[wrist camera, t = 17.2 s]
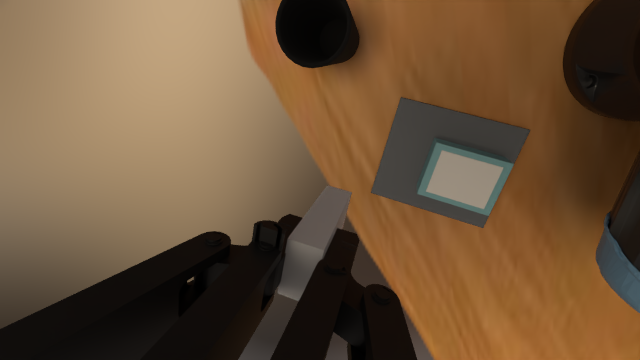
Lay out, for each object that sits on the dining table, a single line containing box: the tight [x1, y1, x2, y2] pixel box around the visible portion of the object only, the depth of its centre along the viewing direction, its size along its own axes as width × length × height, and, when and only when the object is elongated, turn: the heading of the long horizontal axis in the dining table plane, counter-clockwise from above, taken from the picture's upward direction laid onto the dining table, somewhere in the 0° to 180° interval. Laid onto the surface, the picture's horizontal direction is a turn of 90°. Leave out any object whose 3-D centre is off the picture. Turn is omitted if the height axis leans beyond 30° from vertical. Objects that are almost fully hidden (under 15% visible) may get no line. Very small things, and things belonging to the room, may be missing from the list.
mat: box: [371, 97, 530, 228], centre depth 41 cm, size 14×16×1 cm
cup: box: [276, 0, 359, 68], centre depth 35 cm, size 8×8×12 cm
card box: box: [417, 138, 514, 216], centre depth 39 cm, size 4×7×9 cm
